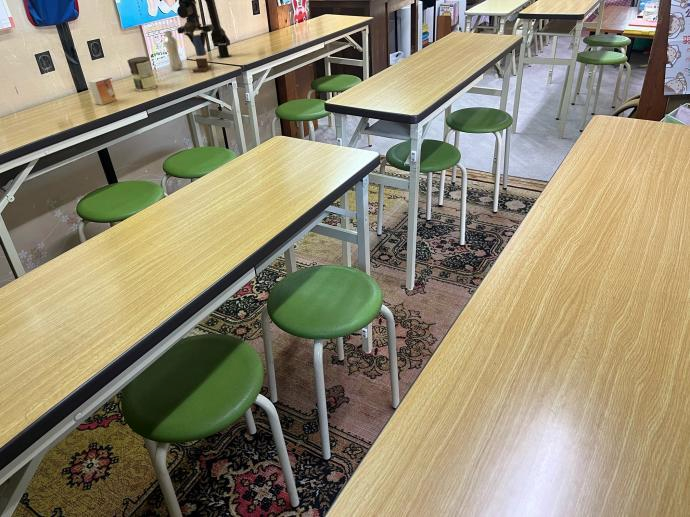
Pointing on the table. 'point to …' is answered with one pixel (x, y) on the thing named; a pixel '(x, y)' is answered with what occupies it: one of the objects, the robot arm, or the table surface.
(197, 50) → the blue box
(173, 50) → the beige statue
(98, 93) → the small box
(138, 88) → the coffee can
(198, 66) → the stand
